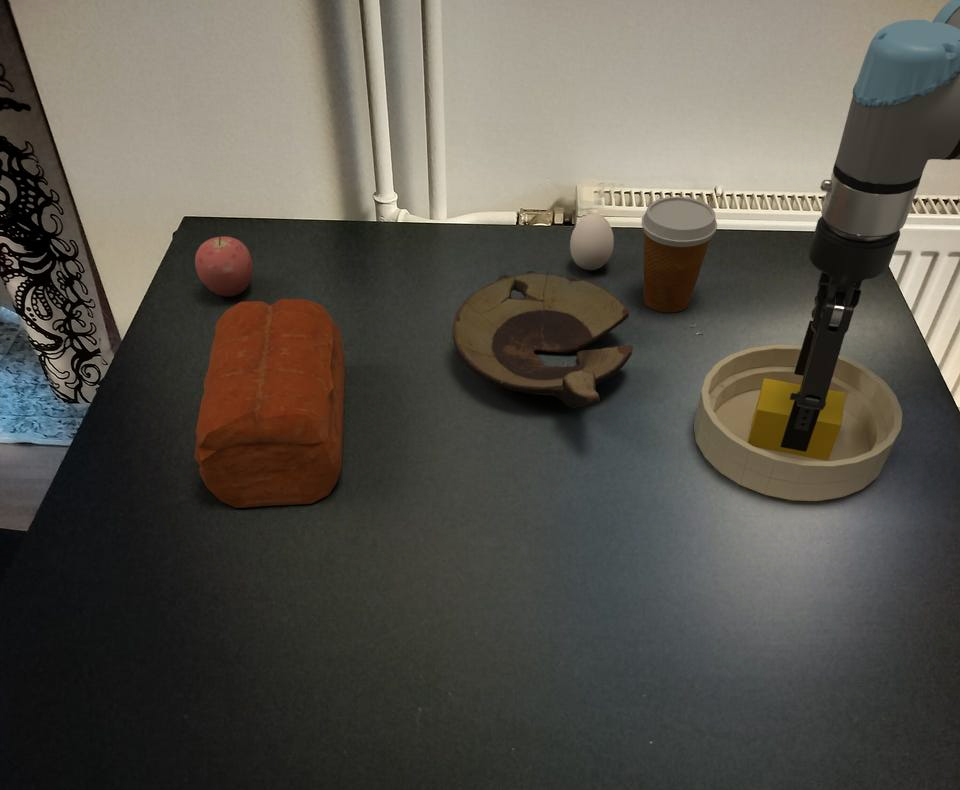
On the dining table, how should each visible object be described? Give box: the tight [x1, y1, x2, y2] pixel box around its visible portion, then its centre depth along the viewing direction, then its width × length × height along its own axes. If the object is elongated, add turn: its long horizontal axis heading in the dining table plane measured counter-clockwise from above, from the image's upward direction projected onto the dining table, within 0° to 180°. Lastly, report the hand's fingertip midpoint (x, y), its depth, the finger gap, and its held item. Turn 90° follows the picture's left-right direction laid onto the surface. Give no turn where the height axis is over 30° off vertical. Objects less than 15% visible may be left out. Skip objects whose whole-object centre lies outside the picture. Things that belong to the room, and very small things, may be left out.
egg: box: [569, 212, 615, 271], centre depth 124 cm, size 6×6×8 cm
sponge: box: [748, 378, 846, 461], centre depth 100 cm, size 9×6×5 cm, turn 72°
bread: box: [193, 298, 346, 509], centre depth 101 cm, size 16×27×11 cm, turn 4°
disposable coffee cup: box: [641, 196, 718, 313], centre depth 117 cm, size 10×10×12 cm
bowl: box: [693, 344, 903, 502], centre depth 101 cm, size 22×22×6 cm
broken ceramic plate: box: [451, 270, 634, 408], centre depth 108 cm, size 22×30×8 cm
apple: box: [194, 236, 254, 298], centre depth 120 cm, size 7×7×8 cm
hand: (800, 409), depth 99 cm, fingers open, 13 cm apart
